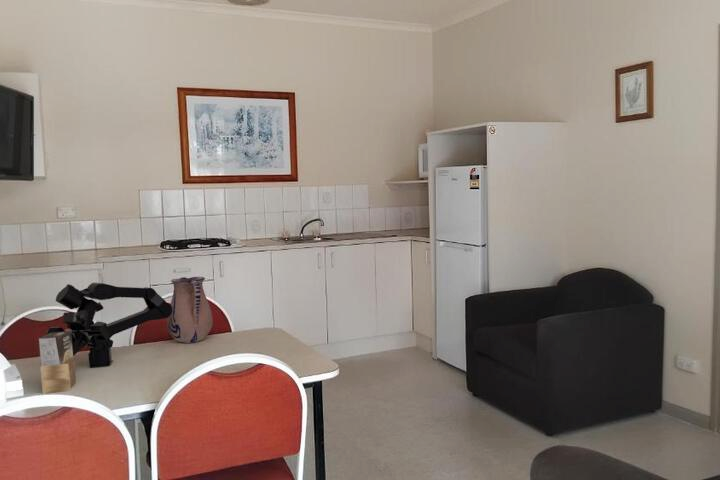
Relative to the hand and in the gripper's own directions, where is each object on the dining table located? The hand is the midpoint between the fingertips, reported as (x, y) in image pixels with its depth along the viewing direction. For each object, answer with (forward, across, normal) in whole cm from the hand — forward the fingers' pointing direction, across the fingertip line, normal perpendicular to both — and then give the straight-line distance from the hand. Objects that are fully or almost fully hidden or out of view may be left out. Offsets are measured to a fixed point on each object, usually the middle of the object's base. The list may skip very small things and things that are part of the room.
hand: (70, 356), depth 198 cm
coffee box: (+11, 0, 0) cm, 11 cm away
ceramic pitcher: (-28, +24, +39) cm, 54 cm away
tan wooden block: (+12, +2, -2) cm, 13 cm away
